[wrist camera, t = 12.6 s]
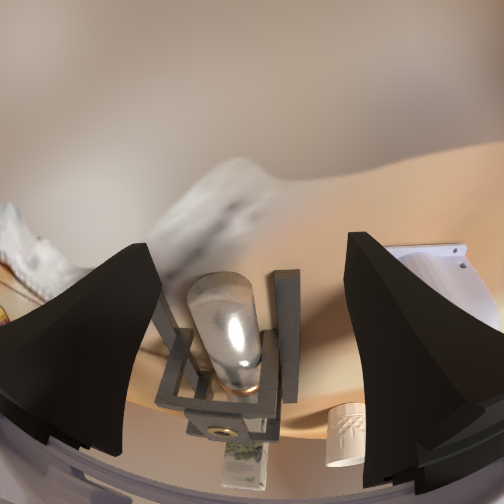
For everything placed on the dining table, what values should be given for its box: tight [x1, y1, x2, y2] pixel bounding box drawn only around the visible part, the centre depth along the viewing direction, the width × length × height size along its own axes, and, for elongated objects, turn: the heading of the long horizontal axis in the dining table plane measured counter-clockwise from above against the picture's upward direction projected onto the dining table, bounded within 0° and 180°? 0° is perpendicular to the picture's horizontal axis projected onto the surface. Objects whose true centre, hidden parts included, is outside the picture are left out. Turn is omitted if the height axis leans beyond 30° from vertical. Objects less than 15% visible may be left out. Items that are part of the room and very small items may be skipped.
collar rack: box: [151, 269, 300, 444], centre depth 25 cm, size 14×24×10 cm, turn 7°
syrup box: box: [220, 418, 269, 491], centre depth 33 cm, size 6×6×14 cm
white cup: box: [326, 402, 366, 467], centre depth 33 cm, size 8×8×10 cm
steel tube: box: [187, 272, 262, 419], centre depth 26 cm, size 20×5×5 cm, turn 7°
